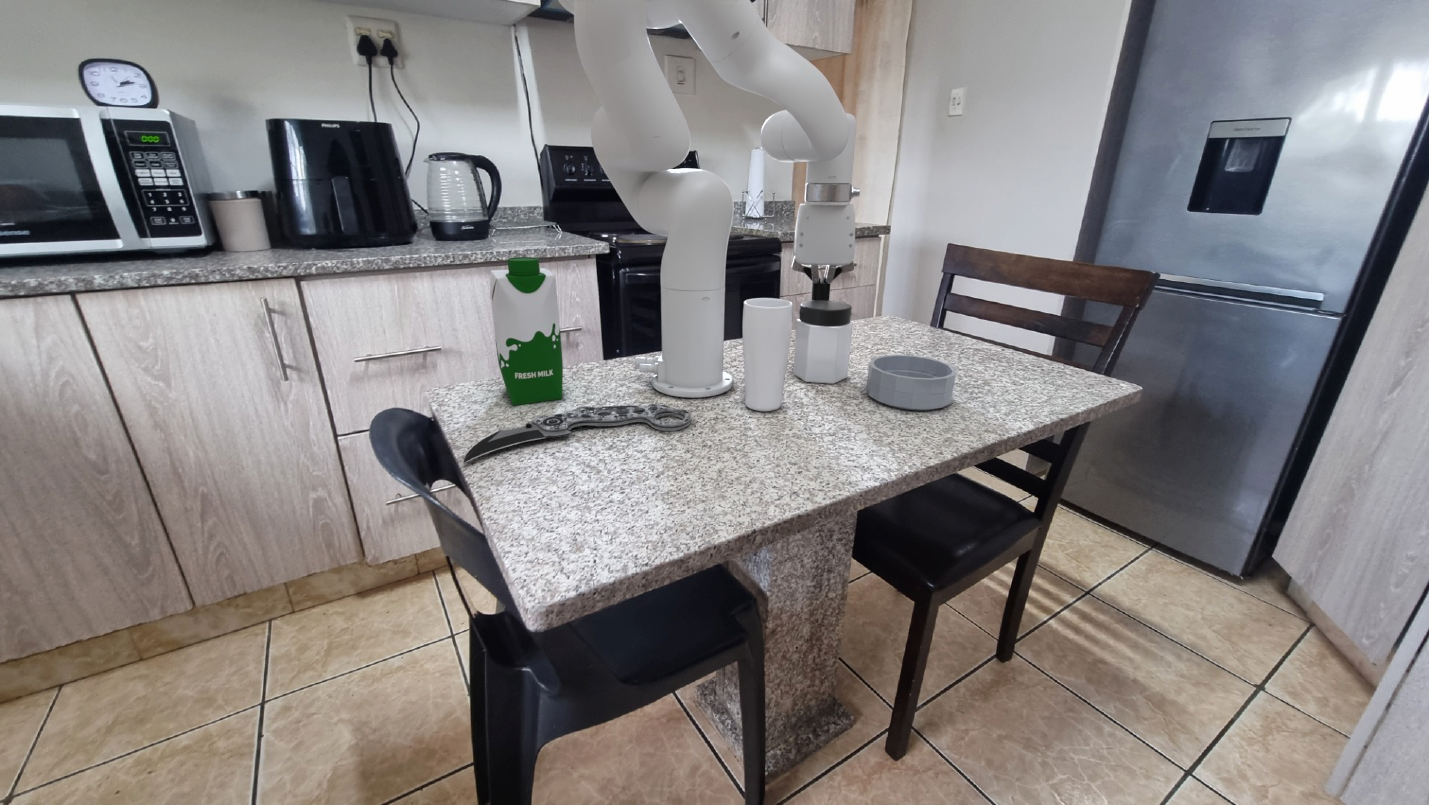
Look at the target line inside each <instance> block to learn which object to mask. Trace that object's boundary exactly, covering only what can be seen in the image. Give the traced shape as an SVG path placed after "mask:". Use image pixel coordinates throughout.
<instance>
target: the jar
mask: <svg viewBox="0 0 1429 805" xmlns="http://www.w3.org/2000/svg"><path fill="white" fill-rule="evenodd" d="M798 314H799V318H797V319H796V324H795V337H794V338H795V339H794V351H793V352H794V354H793V365H792V366H793V367H792V374H793V375H795V376H796V377H798V378H799V379H801V380H802V381H804V382H805V383H813V384H828V385H834V384H837V383H839V382H840V381H843V380H845V379H847V378H848V375H849V374H848V373H849V367H850V366H849V365H850V355H851V344H852V336H853V327H854V326H853V325H854V323H853V321H851V319H852V305H851V304H849V303H847V302H844V301H843V302H842V301H836V300H829V301H828V300H807V301H803V302H801V303H800V306H799V312H798Z"/></svg>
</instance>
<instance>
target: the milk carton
mask: <svg viewBox="0 0 1429 805" xmlns="http://www.w3.org/2000/svg"><path fill="white" fill-rule="evenodd" d="M489 296H490V301H491V313H492V314H491V315H492V321H493V329H494V339H495V347H496V355H497V362H498V366H499V370H500V373H501V376H502V379H503V383H504V386H505V390H506V392H507V395H508V397H509V400H510V402H511V404H512V406H519V405H527V404H528V405H529V404H534V403H542V402H550V401H556V400H557V401H559V400H563V384H564V383H563V382H564V380H563V378H564V374H563V372H564V365H563V364H564V363H563V362H564V361H563V350H562V336H561V335H562V334H561V324H560V322H561V321H560V311H559V301H558V300H559V299H558V290H557V279H556V275H555V274H554V273H552V271H550V270H549V269H547V268H545V267H542V268H541V267H540V259H539V258H538V257H534V256H533V257H531V256H519V257H518V256H517V257H510V258H507V269H494V270H493V269H492V270H490V282H489Z"/></svg>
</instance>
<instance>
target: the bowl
mask: <svg viewBox="0 0 1429 805" xmlns="http://www.w3.org/2000/svg"><path fill="white" fill-rule="evenodd" d="M867 371H868V372H867V378H866V380H867V381H866V387H865V388H866V389H865V390H866V393H867V394H868V396H869V397H871V398H872V399H874V400H875V401H877V402H880V403H881V404H883V405H886V406H889V407H892V408H896V409H901V410H909V411H932V410H936V409H941V408H945V407H947V406H948V405H951V403H952V400H953V394H954V389H955V383H956V378H957V373H958V370H957V369H956V367H954V366H953V365H952V364H949V363H947V362H945V361H943V360H939V359H936V358H930V357H927V356H919V355H913V354H886V355H880V356H877V357H874V358H873V357H872V359H871V360H870V361H869V362H868V370H867Z"/></svg>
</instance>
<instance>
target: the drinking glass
mask: <svg viewBox="0 0 1429 805" xmlns="http://www.w3.org/2000/svg"><path fill="white" fill-rule="evenodd" d="M793 316H794V303H793V302H792V301H790V300H787V299H781V298H774V297H756V298H749V299H746V300H744V301H743V308H742V325H741V327H742V331H741V332H742V353H743V372H744V374H743V376H744V404H745V406H746V407H747V408H748V409H751V410H753V411H757V412H773V411H777V410H778V409H779V408H781V406H782V404H783V395H784V385H785V379H786V374H787V366H788V359H789V353H790V347H791V341H792V340H791V339H792V332H793V320H794V319H793V318H794V317H793Z"/></svg>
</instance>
